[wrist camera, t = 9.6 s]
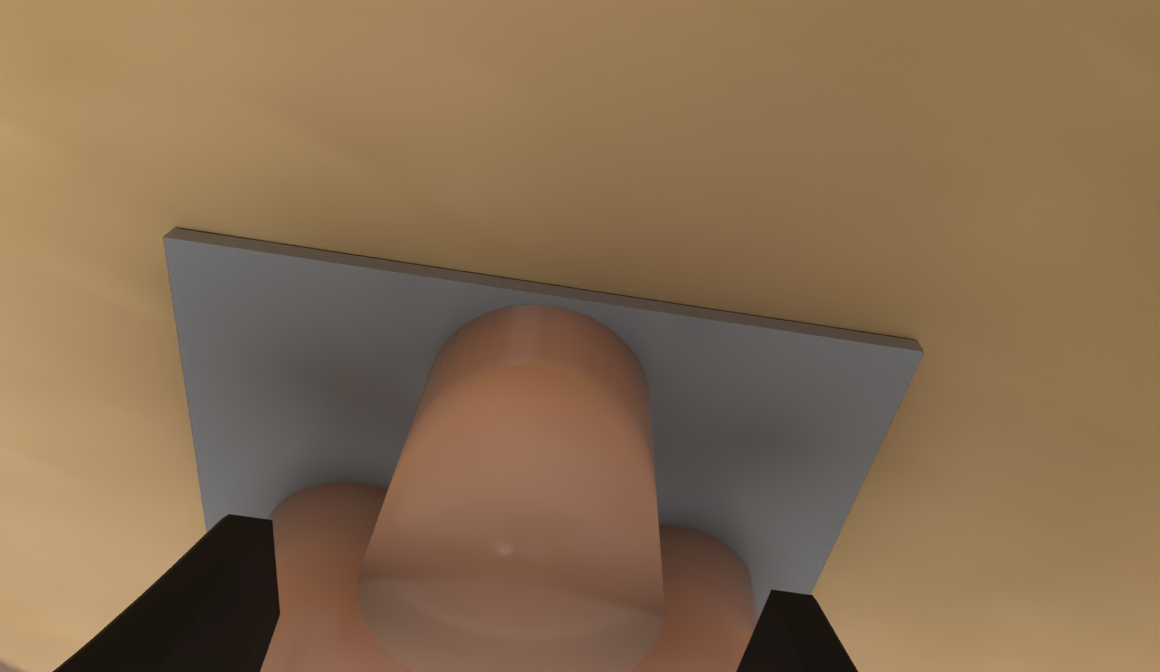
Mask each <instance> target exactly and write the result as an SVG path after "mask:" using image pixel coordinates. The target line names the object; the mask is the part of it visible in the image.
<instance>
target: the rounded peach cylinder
mask: <svg viewBox="0 0 1160 672" xmlns="http://www.w3.org/2000/svg"><path fill="white" fill-rule="evenodd" d="M357 598H358V603H359V609H360V612H361V614H362V617H363V619H364V622H365V624H366V626H367V627H368V629H369V631H370V632H371V634H372V636H373V637H374V638H375V639H376V641H377V642H378V643H379V644H380V646H381V647H382V648H383V649H384V650H385V651H386V652H387V653H389V654H390V655H391V656H392V657H393V658H394V659H395V660H397V661H398V662H399V663H401V664H402V665H403V666H404V667H406V668H408V669H409V670H411V671H412V672H629V671H630V670H632V669H633V668H634V667H635V666H636V665H637V664H638V663H640V662H641V661H642V660H643V659H644V658H645V656H646V655H647V654H648V653H649V651H650V650H651V649H652V647H653V646H654V644H655V642H656V640H657V638H658V637H659V634H660V631H661V628H662V625H663V620H664V612H665V606H664V592H663V578H662V564H661V550H660V536H659V522H658V508H657V494H656V481H655V467H654V453H653V439H652V425H651V411H650V397H649V387H648V382H647V378H646V375H645V372H644V370H643V367H642V365H641V363H640V361H639V360H638V358H637V356H636V355H635V353H634V352H633V351H632V349H631V348H630V347H629V346H628V344H627V343H626V342H625V341H624V340H623V339H622V338H621V337H619V336H618V335H617V334H616V333H615V332H614V331H612V330H611V329H609V328H608V327H607V326H605V325H604V324H602V323H600V322H598V321H597V320H595V319H593V318H591V317H589V316H586V315H584V314H581V313H579V312H576V311H573V310H569V309H565V308H561V307H555V306H549V305H517V306H511V307H506V308H500V309H497V310H494V311H491V312H488V313H485V314H483V315H481V316H479V317H477V318H475V319H473V320H471V321H469V322H468V323H466V324H465V325H463V326H462V327H460V328H459V329H458V330H457V331H456V332H455V333H453V334H452V335H451V336H450V337H449V339H448V340H447V341H446V342H445V343H444V344H443V346H442V347H441V349H440V350H439V352H438V354H437V355H436V357H435V360H434V362H433V365H432V367H431V370H430V373H429V375H428V378H427V381H426V384H425V387H424V390H423V392H422V395H421V398H420V401H419V404H418V407H417V409H416V412H415V415H414V418H413V421H412V424H411V426H410V429H409V432H408V435H407V438H406V440H405V443H404V446H403V449H402V452H401V455H400V457H399V460H398V463H397V466H396V469H395V472H394V474H393V477H392V480H391V483H390V486H389V489H388V491H387V494H386V497H385V500H384V503H383V506H382V508H381V511H380V514H379V517H378V520H377V523H376V525H375V528H374V531H373V534H372V537H371V539H370V542H369V545H368V548H367V551H366V554H365V556H364V559H363V562H362V565H361V568H360V572H359V576H358V581H357Z"/></svg>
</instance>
